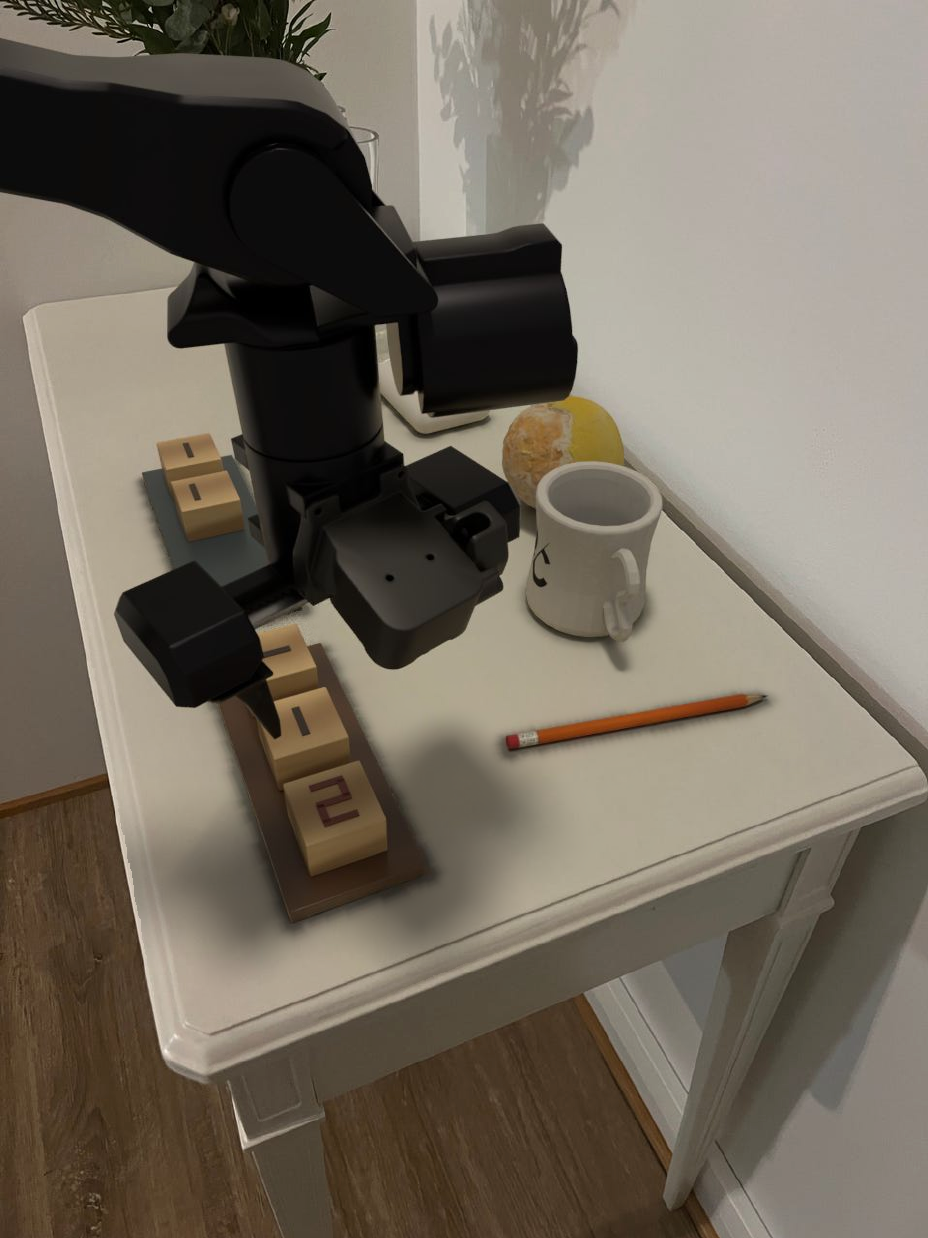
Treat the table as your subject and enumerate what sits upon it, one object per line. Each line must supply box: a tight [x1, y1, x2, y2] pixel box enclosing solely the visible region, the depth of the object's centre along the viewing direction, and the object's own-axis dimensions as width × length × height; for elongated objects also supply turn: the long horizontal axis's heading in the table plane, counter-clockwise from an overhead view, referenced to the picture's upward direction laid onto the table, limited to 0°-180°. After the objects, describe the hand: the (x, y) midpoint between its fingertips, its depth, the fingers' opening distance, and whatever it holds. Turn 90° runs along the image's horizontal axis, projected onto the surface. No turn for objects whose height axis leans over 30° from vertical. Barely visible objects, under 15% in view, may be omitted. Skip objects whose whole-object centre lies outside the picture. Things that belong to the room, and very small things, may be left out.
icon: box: [378, 360, 491, 435], centre depth 94 cm, size 12×4×10 cm
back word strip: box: [141, 432, 303, 614], centre depth 76 cm, size 22×8×4 cm, turn 24°
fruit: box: [501, 395, 625, 510], centre depth 78 cm, size 10×11×10 cm
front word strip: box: [217, 623, 427, 923], centre depth 58 cm, size 20×8×4 cm, turn 24°
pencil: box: [505, 693, 768, 750], centre depth 63 cm, size 1×19×1 cm, turn 104°
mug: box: [525, 461, 663, 643], centre depth 68 cm, size 12×9×10 cm
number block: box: [283, 761, 388, 877], centre depth 53 cm, size 5×5×3 cm
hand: (350, 689), depth 49 cm, fingers open, 9 cm apart
